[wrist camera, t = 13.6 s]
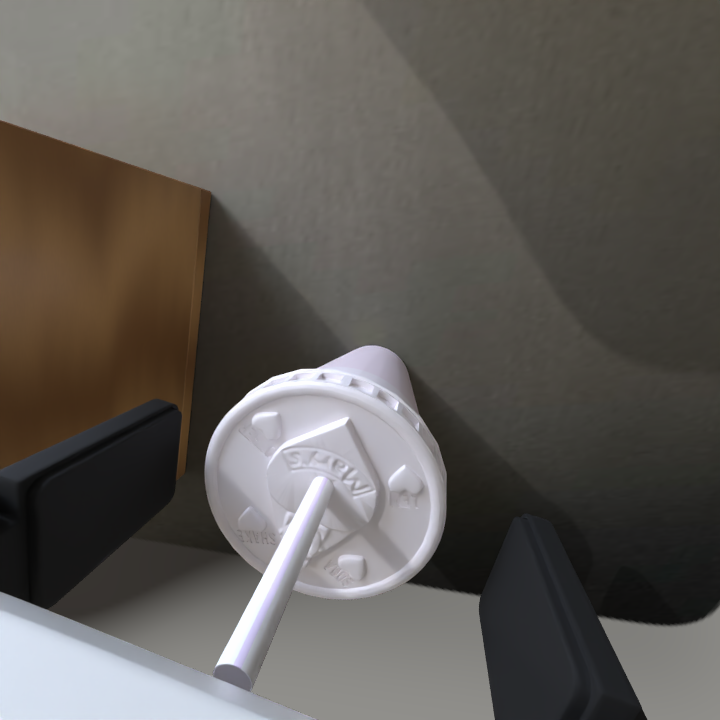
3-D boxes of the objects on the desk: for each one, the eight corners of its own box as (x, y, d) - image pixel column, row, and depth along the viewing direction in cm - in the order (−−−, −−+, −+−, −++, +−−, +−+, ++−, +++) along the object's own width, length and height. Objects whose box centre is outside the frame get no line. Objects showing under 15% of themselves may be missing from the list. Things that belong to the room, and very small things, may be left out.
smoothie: (458, 346, 17) (580, 652, 4) (408, 456, 19) (366, 923, 5) (333, 299, 17) (28, 412, 4) (297, 411, 19) (10, 738, 6)
